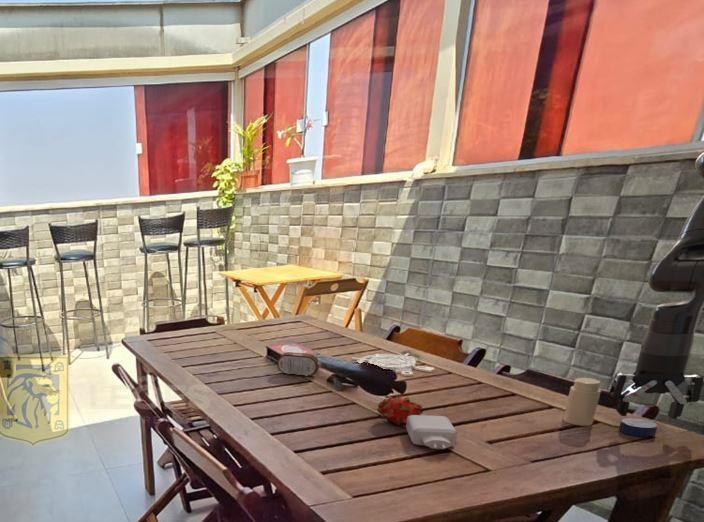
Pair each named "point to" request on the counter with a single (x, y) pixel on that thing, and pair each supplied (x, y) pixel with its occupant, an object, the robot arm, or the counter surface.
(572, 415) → the jar
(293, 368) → the tin
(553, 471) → the counter surface
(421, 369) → the pendant
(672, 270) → the robot arm
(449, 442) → the charger
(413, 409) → the dragon fruit
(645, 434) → the jar lid
